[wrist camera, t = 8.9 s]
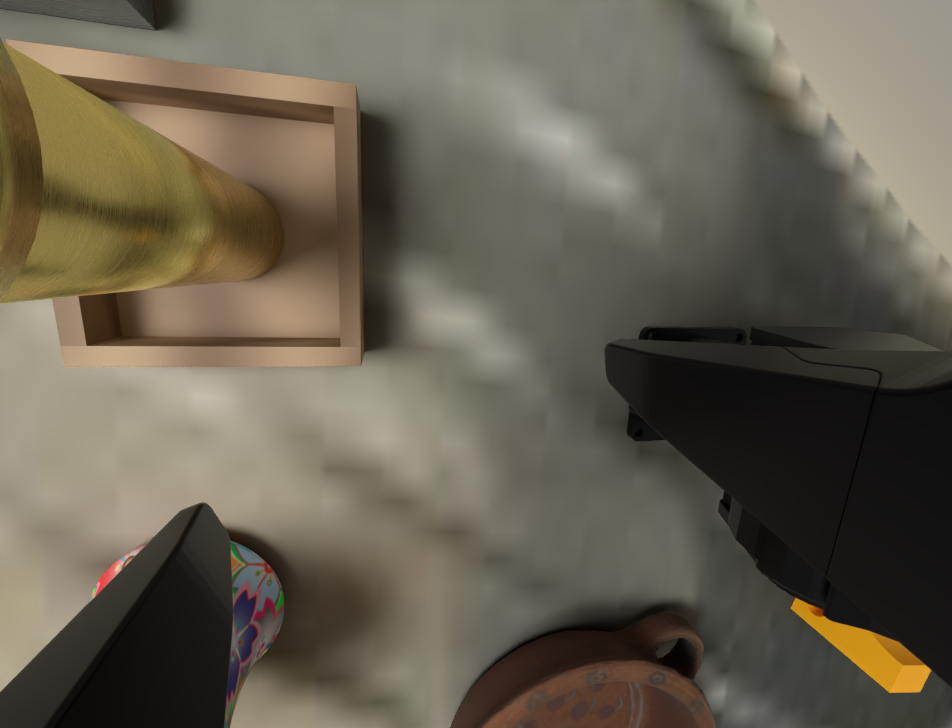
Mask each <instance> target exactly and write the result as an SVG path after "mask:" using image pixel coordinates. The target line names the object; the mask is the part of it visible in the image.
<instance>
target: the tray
mask: <svg viewBox="0 0 952 728" xmlns="http://www.w3.org/2000/svg"><path fill="white" fill-rule="evenodd" d="M6 42H7V45H9V46H11V47H12V48H14V49H16V50H17V51H19V52H21V53H23V54H24V55H26V56H28V57H29V58H31V59H33V60H35V61H36V62H38V63H40V64H41V65H43V66H45V67H47V68H48V69H50V70H52V71H53V72H55V73H57V74H59V75H60V76H62V77H64V78H65V79H67V80H69V81H71V82H72V83H74V84H76V85H77V86H79V87H81V88H83V89H84V90H86V91H88V92H89V93H91V94H93V95H95V96H96V97H98V98H100V99H101V100H103V101H105V102H107V103H108V104H110V105H112V106H113V107H115V108H117V109H119V110H120V111H122V112H124V113H125V114H127V115H129V116H131V117H132V118H134V119H136V120H137V121H139V122H141V123H143V124H144V125H146V126H148V127H149V128H151V129H153V130H154V131H156V132H158V133H160V134H161V135H163V136H165V137H166V138H168V139H170V140H172V141H173V142H175V143H177V144H178V145H180V146H182V147H184V148H185V149H187V150H189V151H190V152H192V153H194V154H196V155H197V156H199V157H201V158H202V159H204V160H206V161H208V162H209V163H211V164H213V165H214V166H216V167H218V168H220V169H221V170H223V171H225V172H226V173H228V174H230V175H232V176H233V177H235V178H237V179H238V180H240V181H242V182H244V183H245V184H247V185H249V186H250V187H252V188H254V189H256V190H257V191H258V192H260V193H261V194H262V195H264V196H265V197H266V198H267V199H268V200H269V201H270V203H271V204H272V205H273V206H274V208H275V209H276V211H277V213H278V215H279V217H280V220H281V222H282V226H283V232H284V242H283V248H282V251H281V254H280V256H279V258H278V260H277V262H276V263H275V264H274V266H273V267H272V268H271V269H270V270H268V271H267V272H266V273H264V274H263V275H261V276H259V277H257V278H254V279H250V280H245V281H236V282H225V283H214V284H203V285H192V286H182V287H171V288H160V289H149V290H138V291H128V292H117V293H106V294H95V295H84V296H74V297H63V298H52V300H53V306H54V311H55V317H56V322H57V328H58V334H59V339H60V345H61V350H62V356H63V361H64V367H252V366H361V364H362V360H363V355H364V311H363V249H362V186H361V124H360V106H359V100H358V94H357V88H356V84H348V83H340V82H333V81H325V80H317V79H309V78H301V77H294V76H286V75H278V74H270V73H263V72H255V71H247V70H239V69H232V68H224V67H216V66H208V65H201V64H193V63H185V62H177V61H169V60H162V59H154V58H146V57H138V56H131V55H123V54H115V53H107V52H100V51H92V50H84V49H76V48H68V47H61V46H53V45H45V44H37V43H30V42H22V41H14V40H6Z"/></svg>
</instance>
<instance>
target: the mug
mask: <svg viewBox="0 0 952 728" xmlns="http://www.w3.org/2000/svg"><path fill="white" fill-rule="evenodd" d="M230 543H231V565H232V589H233V631H232V643H231V654H230V666H229V678H228V690H227V701H226V713H225V725H224V728H230V725H231V720H232V716H233V712H234V709H235V705H236V702H237V699H238V696H239V694H240V691H241V688H242V686H243V684H244V682H245V679H246V677H247V676H248V674H249V672H250V670H251V669H252V667H253V666H254V664H255V663H256V662H257V661H258V660H259V659H260V658H261V657H262V656H263V655H264V654H265V653H266V652H267V650H268V649H269V648H270V646H271V645H272V643H273V642H274V640H275V639H276V637H277V635H278V633H279V631H280V628H281V626H282V622H283V618H284V611H285V603H284V594H283V590H282V586H281V584H280V581H279V579H278V577H277V576H276V574H275V572H274V571H273V570H272V568H271V567H270V566H269V565H268V564H267V563H266V562H265V561H264V560H263V559H262V558H261V557H260V556H259V555H257V554H256V553H255V552H253V551H252V550H250V549H248V548H246V547H245V546H242V545H240V544H238V543H236V542H233V541H230ZM146 545H147V544H145V545H143V546H141V547H138V548H136V549H134V550H133V551H131V552H129V553H128V554H126V555H125V556H123V557H122V558H120V559H119V560H118V561H116V562H115V563H114V564H113V565H112V566H111V567H110V568H109V569H108V570H107V571H106V572H105V573H104V574H103V576H102V577H101V578H100V580H99V581H98V583H97V585H96V586H95V588H94V590H93V592H92V595H91V597H90V600H89V602H90V601H91V600H92V599H93V598H94V597H95V596H96V595H97V594H98V593H99V592H100V591H101V590H102V589H103V588H104V587H105V586H106V585H107V584H108V583H109V582H110V581H111V580H112V579H113V578H114V577H115V576H116V575H117V574H118V573H119V572H120V571H121V570H122V569H123V568H124V567H125V566H126V565H127V564H128V563H129V562H130V561H131V560H132V559H133V558H134V557H135V556H136V555H137V554H138V553H139V552H140V551H141V550H142V549H143V548H144V547H145V546H146Z"/></svg>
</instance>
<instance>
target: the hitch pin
mask: <svg viewBox="0 0 952 728" xmlns="http://www.w3.org/2000/svg"><path fill="white" fill-rule="evenodd" d="M283 242H284V232H283V226H282V222H281V220H280V217H279V215H278V213H277V211H276V209H275V208H274V206H273V205H272V204H271V203H270V201H269V200H268V199H267V198H266V197H265V196H264V195H262V194H261V193H260V192H258V191H257V190H256V189H254V188H252V187H250V186H249V185H247V184H245V183H244V182H242V181H240V180H238V179H237V178H235V177H233V176H232V175H230V174H228V173H226V172H225V171H223V170H221V169H220V168H218V167H216V166H214V165H213V164H211V163H209V162H208V161H206V160H204V159H202V158H201V157H199V156H197V155H196V154H194V153H192V152H190V151H189V150H187V149H185V148H184V147H182V146H180V145H178V144H177V143H175V142H173V141H172V140H170V139H168V138H166V137H165V136H163V135H161V134H160V133H158V132H156V131H154V130H153V129H151V128H149V127H148V126H146V125H144V124H143V123H141V122H139V121H137V120H136V119H134V118H132V117H131V116H129V115H127V114H125V113H124V112H122V111H120V110H119V109H117V108H115V107H113V106H112V105H110V104H108V103H107V102H105V101H103V100H101V99H100V98H98V97H96V96H95V95H93V94H91V93H89V92H88V91H86V90H84V89H83V88H81V87H79V86H77V85H76V84H74V83H72V82H71V81H69V80H67V79H65V78H64V77H62V76H60V75H59V74H57V73H55V72H53V71H52V70H50V69H48V68H47V67H45V66H43V65H41V64H40V63H38V62H36V61H35V60H33V59H31V58H29V57H28V56H26V55H24V54H23V53H21V52H19V51H17V50H16V49H14V48H12V47H11V46H9V45H7V44H5V43H4V42H2V40H1V38H0V303H9V302H20V301H30V300H41V299H52V298H63V297H74V296H84V295H95V294H106V293H117V292H128V291H138V290H149V289H160V288H171V287H182V286H192V285H203V284H214V283H225V282H236V281H245V280H250V279H254V278H257V277H259V276H261V275H263V274H264V273H266V272H267V271H268V270H270V269H271V268H272V267H273V266H274V264H275V263H276V262H277V260H278V258H279V256H280V254H281V251H282V248H283Z"/></svg>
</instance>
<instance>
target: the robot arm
mask: <svg viewBox="0 0 952 728" xmlns="http://www.w3.org/2000/svg"><path fill="white" fill-rule="evenodd" d="M650 333H652V337H651V339H650V340H648V335H649V334H650ZM736 335H737V339H736V340H735V337H736ZM746 338H747V334H746V332H745V331H744V330H743V329H739V328H712V327H645V328H644V329H642V331H641V332H640V336H639V340H637V339H619V340H616V341H614V342H611V343H609V344H607V345H606V347H605V366H606V376H607V379H608V381H609V383H610V384H611V385H612V386H613V387H614V389H615V390H616V391H617V392H618V393H619V394H620V395H621V396H622V397H623V398H624V399H625V400H626V401H627V402H628V403H629V409H630V412H629V420H628V427H627V434H628V436H629V437H630V438H632V439H633V440H635V441H652V440H667V441H668V442H669V443H670V444H671V445H672V446H673V447H675V448H676V449H677V450H678V451H679V452H680V453H682V454H683V455H684V456H685V457H686V458H687V459H688V460H690V461H691V462H692V463H693V464H694V465H695V466H697V467H698V468H699V469H700V470H701V471H702V472H704V473H705V474H706V475H707V476H708V477H709V478H710V479H712V480H713V481H714V482H715V483H716V484H717V485H719V486H720V487H721V488H722V489H723V490H724V495H723V499H721V500H720V503H719V508H718V512H719V513H720V515H721V516H722V517H723V519H724V520H725V522H726V523H727V524H728V526H729V528H730V530H731V532H732V533H733V535H734V537H735V539H736V540H737V541H738V542H739V543H740V544H741V545H742V546H743V547H744V548H745V549H746V550H747V552H748V553H749V554H750V556H751V557H752V559H753V560H754V561H755V566H756V567H757V569H758V570H759V571H760V572H761V573H762V574H763V575H765V576H766V577H768V579H770V580H771V581H772V582H773V583H774V584H776V585H777V586H778V587H779V588H781V589H782V590H784V591H786V592H787V593H789V594H790V595H792V596H794V597H796V598H797V599H799V600H801V601H803V602H805V603H807V604H810V605H812V606H815V607H817V608H820V609H823V615H824V616H825V617H826V618H827V619H829V620H831V621H833V622H837V623H841V624H845V625H849V626H853V627H856V628H860V629H864V630H868V631H871V632H874V633H876V634H879V635H882V636H884V637H887V638H890V639H892V640H895V641H898V642H899V643H901V644H902V645H903V646H904V647H905V648H906V649H908V650H909V651H910V652H911V653H912V654H913V655H914V656H916V657H917V658H918V659H919V660H920V661H921V662H923V663H924V664H925V665H926V666H927V667H928V668H929V669H931V670H932V671H933V672H934V673H935V674H936V675H938V676H939V677H940V678H941V679H942V680H943V681H944V682H946V683H947V684H948V685H949V686H950V687H951V688H952V351H943V350H940V349H938V348H936V347H933V346H931V345H929V344H926V343H924V342H921V341H919V340H917V339H914V338H912V337H909V336H907V335H903V334H895V333H886V332H877V331H868V330H859V329H850V328H840V327H751V333H750V338H749V339H750V340H752V343H751V345H745V343H746ZM637 429H639V431H638V433H637V434H635V431H636V430H637ZM232 631H233V589H232V565H231V543H230V538H229V535H228V533H227V531H226V529H225V528H224V526H223V525H222V523H221V522H220V520H219V519H218V517H217V516H216V514H215V513H214V511H213V510H212V508H211V507H210V506H209V505H208V504H207V503H203V502H202V503H199V504H196V505H194V506H191V507H188V508H186V509H183V510H181V511H180V512H179V513H178V514H177V515H176V516H175V517H174V518H173V519H172V520H171V521H170V522H169V523H168V524H167V525H166V526H165V527H164V528H163V529H162V530H161V531H160V532H159V533H158V534H157V535H156V536H155V537H154V538H153V539H152V540H151V541H150V542H149V543H148V544H147V545H146V546H145V547H144V548H143V549H142V550H141V551H140V552H139V553H138V554H137V555H136V556H135V557H134V558H133V559H132V560H131V561H130V562H129V563H128V564H127V565H126V566H125V567H124V568H123V569H122V570H121V571H120V572H119V573H118V574H117V575H116V576H115V577H114V578H113V579H112V580H111V581H110V582H109V583H108V584H107V585H106V586H105V587H104V588H103V589H102V590H101V591H100V592H99V593H98V594H97V595H96V596H95V597H94V598H93V599H92V600H91V601H90V602H89V603H88V604H87V605H86V606H85V607H84V608H83V609H82V610H81V611H80V612H79V613H78V614H77V615H76V616H75V617H74V618H73V619H72V620H71V621H70V622H69V623H68V624H67V625H66V626H65V627H64V628H63V629H62V630H61V631H60V632H59V633H58V634H57V635H56V636H55V637H54V638H53V639H52V640H51V641H50V642H49V643H48V644H47V645H46V646H45V647H44V648H43V649H42V650H41V651H40V652H39V653H38V655H37V656H36V657H35V658H34V659H33V660H32V661H31V662H30V663H29V664H28V665H27V666H26V667H25V668H24V669H23V670H22V671H21V672H20V673H19V674H18V675H17V676H16V677H15V678H14V679H13V680H12V681H11V682H10V683H9V684H8V685H7V686H6V687H5V688H4V689H3V690H2V691H1V692H0V728H224V725H225V713H226V701H227V690H228V678H229V666H230V654H231V643H232Z"/></svg>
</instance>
